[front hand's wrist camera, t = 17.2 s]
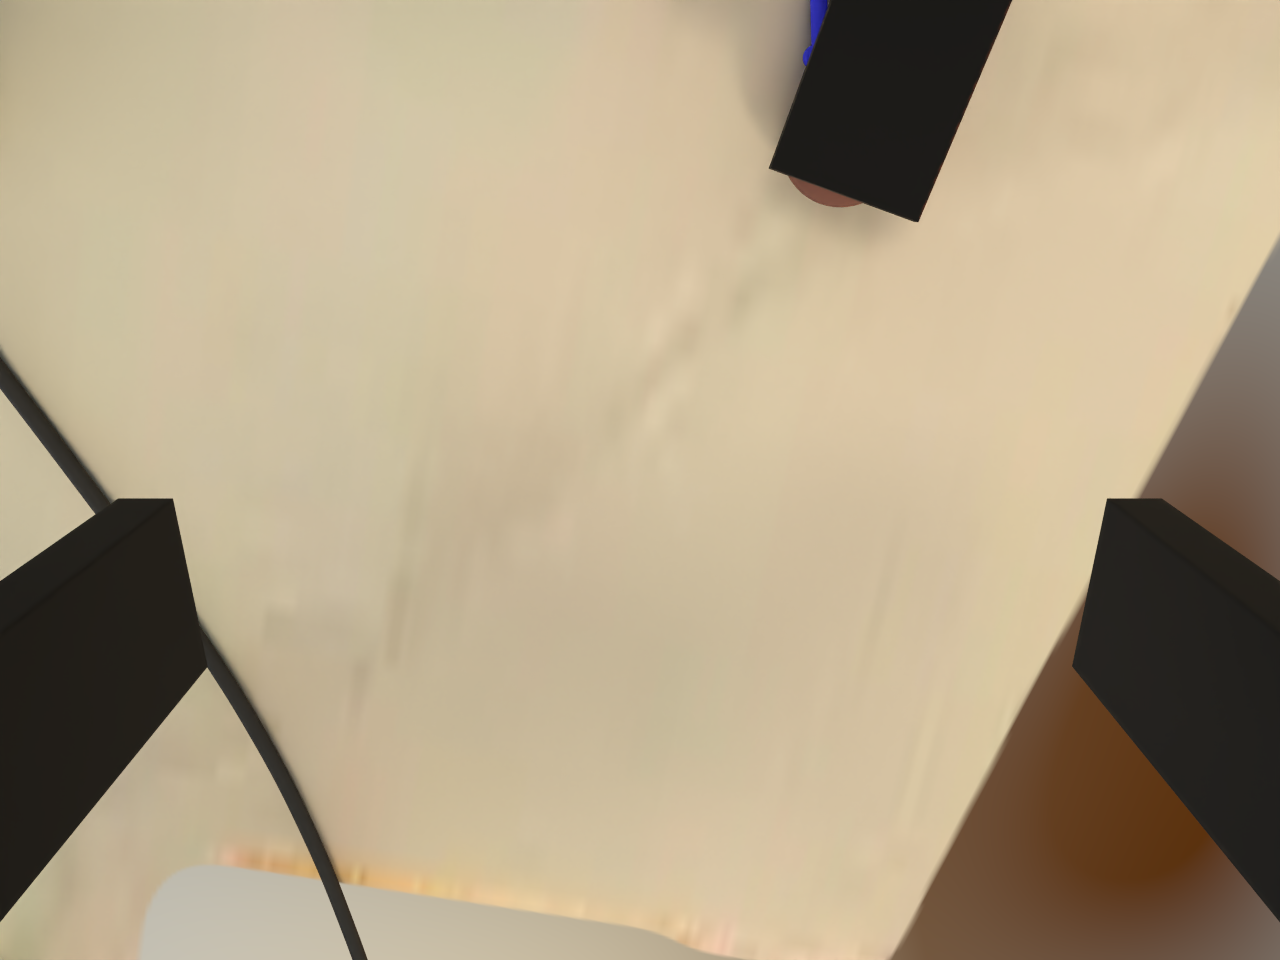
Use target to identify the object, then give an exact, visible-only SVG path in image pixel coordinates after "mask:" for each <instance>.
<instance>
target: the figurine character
mask: <svg viewBox="0 0 1280 960" xmlns="http://www.w3.org/2000/svg"><path fill="white" fill-rule="evenodd" d="M1011 2H1012V0H830V2H829V5H828V8H827V0H810V13H811V46H809V47H808V48H807V49H806V50H805V52H804V54H803V62H804V65H805V66H806V68H805V71H804V73H803V76H802V79H801V82H800V84H799V87H798V90H797V93H796V95H795V98H794V101H793V104H792V106H791V109H790V112H789V114H788V117H787V120H786V123H785V125H784V128H783V131H782V134H781V136H780V139H779V142H778V145H777V147H776V150H775V153H774V155H773V158H772V161H771V164H770V166H769V169H772V170H774V171H777V172H780V173H783V174H785V175H788V176H789V178H790V180H791V181H792V183H793V184H794V185H795V187H796V188H797V189H798V190H799V191H800V192H801V193H802V194H804V195H805V196H806V197H808V198H809V199H811V200H813V201H815V202H817V203H820V204H823V205H826V206H832V207H849V206H854V205H858V204H861V203H864V204H867V205H870V206H873V207H875V208H878V209H881V210H883V211H886V212H889V213H892V214H894V215H897V216H900V217H903V218H905V219H908V220H911V221H913V222H919V219H920V217H921V214H922V212H923V210H924V207H925V205H926V203H927V200H928V198H929V196H930V193H931V191H932V188H933V186H934V184H935V181H936V179H937V177H938V174H939V172H940V170H941V167H942V165H943V162H944V160H945V158H946V155H947V153H948V151H949V148H950V146H951V143H952V141H953V139H954V136H955V134H956V132H957V129H958V127H959V125H960V122H961V120H962V117H963V115H964V113H965V110H966V108H967V106H968V103H969V101H970V99H971V96H972V94H973V91H974V89H975V87H976V84H977V82H978V80H979V77H980V75H981V73H982V70H983V68H984V65H985V63H986V61H987V58H988V56H989V54H990V51H991V49H992V47H993V44H994V42H995V39H996V37H997V35H998V32H999V30H1000V28H1001V25H1002V23H1003V21H1004V18H1005V16H1006V13H1007V11H1008V9H1009V6H1010V4H1011Z"/></svg>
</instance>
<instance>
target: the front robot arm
mask: <svg viewBox="0 0 1280 960" xmlns="http://www.w3.org/2000/svg"><path fill="white" fill-rule="evenodd" d="M0 389H1V390H2V392H3V393H4V394H5V395H6V397H7V398H8V399H9V401H10V402H11V403H12V405H13V406H14V407H15V408H16V410H17V411H18V412H19V414H20V415H21V416H22V418H23V419H24V420H25V422H26V423H27V424H28V425H29V427H30V428H31V429H32V431H33V432H34V433H35V435H36V436H37V437H38V439H39V440H40V441H41V443H42V444H43V445H44V446H45V448H46V449H47V450H48V452H49V453H50V454H51V456H52V457H53V458H54V460H55V461H56V462H57V464H58V465H59V466H60V468H61V469H62V470H63V472H64V473H65V474H66V476H67V477H68V478H69V480H70V481H71V482H72V484H73V485H74V486H75V487H76V489H77V490H78V491H79V493H80V494H81V495H82V497H83V498H84V499H85V501H86V502H87V503H88V505H89V506H90V507H91V509H92V510H93V511H94V513H95V514H96V515H94V516H93V517H91V518H90V519H88V520H87V521H86V522H84V523H83V524H81V525H80V526H78V527H77V528H76V529H74V530H73V531H71V532H70V533H68V534H67V535H66V536H64V537H63V538H61V539H60V540H58V541H57V542H56V543H54V544H53V545H51V546H50V547H48V548H47V549H45V550H44V551H43V552H41V553H40V554H38V555H37V556H35V557H34V558H33V559H31V560H30V561H28V562H27V563H25V564H24V565H23V566H21V567H20V568H18V569H17V570H15V571H14V572H13V573H11V574H10V575H8V576H7V577H5V578H4V579H3V580H1V581H0V922H1V920H2V919H3V918H4V917H5V915H6V914H7V913H8V912H9V910H10V909H11V908H12V907H13V906H14V904H15V903H16V902H17V901H18V899H19V898H20V897H21V896H22V894H23V893H24V892H25V891H26V890H27V888H28V887H29V886H30V885H31V883H32V882H33V881H34V880H35V878H36V877H37V876H38V875H39V874H40V872H41V871H42V870H43V869H44V867H45V866H46V865H47V864H48V862H49V861H50V860H51V859H52V858H53V856H54V855H55V854H56V853H57V851H58V850H59V849H60V848H61V846H62V845H63V844H64V843H65V842H66V840H67V839H68V838H69V837H70V835H71V834H72V833H73V832H74V830H75V829H76V828H77V827H78V826H79V824H80V823H81V822H82V821H83V819H84V818H85V817H86V816H87V814H88V813H89V812H90V811H91V810H92V808H93V807H94V806H95V805H96V803H97V802H98V801H99V800H100V798H101V797H102V796H103V795H104V794H105V792H106V791H107V790H108V789H109V787H110V786H111V785H112V784H113V782H114V781H115V780H116V779H117V777H118V776H119V775H120V774H121V773H122V771H123V770H124V769H125V768H126V766H127V765H128V764H129V763H130V761H131V760H132V759H133V758H134V757H135V755H136V754H137V753H138V752H139V750H140V749H141V748H142V747H143V745H144V744H145V743H146V742H147V741H148V739H149V738H150V737H151V736H152V734H153V733H154V732H155V731H156V729H157V728H158V727H159V726H160V725H161V723H162V722H163V721H164V720H165V718H166V717H167V716H168V715H169V713H170V712H171V711H172V710H173V709H174V707H175V706H176V705H177V704H178V702H179V701H180V700H181V699H182V697H183V696H184V695H185V694H186V693H187V691H188V690H189V689H190V688H191V686H192V685H193V684H194V683H195V681H196V680H197V679H198V678H199V677H200V675H201V674H202V673H203V672H204V670H205V669H206V668H208V669H209V671H210V672H211V674H212V675H213V677H214V678H215V680H216V681H217V683H218V684H219V686H220V688H221V689H222V691H223V692H224V694H225V696H226V697H227V699H228V700H229V702H230V704H231V705H232V707H233V708H234V710H235V712H236V713H237V715H238V717H239V718H240V720H241V722H242V723H243V725H244V727H245V729H246V730H247V732H248V734H249V735H250V737H251V739H252V741H253V742H254V744H255V746H256V748H257V749H258V751H259V753H260V755H261V756H262V758H263V760H264V762H265V764H266V765H267V767H268V769H269V771H270V773H271V775H272V776H273V778H274V780H275V782H276V784H277V786H278V788H279V790H280V792H281V794H282V796H283V798H284V800H285V802H286V804H287V806H288V808H289V810H290V812H291V814H292V816H293V818H294V820H295V822H296V824H297V826H298V828H299V831H300V833H301V835H302V837H303V839H304V841H305V843H306V846H307V848H308V850H309V852H310V854H311V857H312V859H313V861H314V863H315V866H316V868H317V870H318V873H319V875H320V877H321V880H322V882H323V885H324V887H325V889H326V892H327V894H328V897H329V899H330V902H331V904H332V907H333V910H334V912H335V915H336V917H337V920H338V922H339V925H340V928H341V930H342V933H343V935H344V938H345V941H346V943H347V946H348V949H349V951H350V954H351V957H352V960H367V957H366V954H365V951H364V948H363V945H362V943H361V940H360V937H359V935H358V932H357V929H356V927H355V924H354V921H353V919H352V916H351V913H350V911H349V908H348V905H347V903H346V900H345V897H344V895H343V892H342V890H341V887H340V885H339V882H338V879H337V877H336V875H335V872H334V870H333V867H332V865H331V862H330V860H329V858H328V855H327V853H326V851H325V849H324V846H323V844H322V842H321V840H320V837H319V835H318V833H317V831H316V829H315V826H314V824H313V822H312V820H311V818H310V816H309V813H308V811H307V809H306V807H305V805H304V803H303V801H302V799H301V797H300V795H299V793H298V791H297V789H296V787H295V785H294V783H293V781H292V779H291V777H290V775H289V773H288V771H287V769H286V767H285V765H284V763H283V761H282V760H281V758H280V756H279V754H278V752H277V750H276V749H275V747H274V745H273V743H272V741H271V740H270V738H269V736H268V734H267V733H266V731H265V729H264V727H263V726H262V724H261V722H260V720H259V719H258V717H257V715H256V713H255V712H254V710H253V708H252V707H251V705H250V703H249V702H248V700H247V698H246V697H245V695H244V693H243V692H242V690H241V688H240V687H239V685H238V684H237V682H236V680H235V679H234V677H233V676H232V674H231V672H230V671H229V669H228V668H227V666H226V665H225V663H224V662H223V660H222V658H221V657H220V655H219V654H218V652H217V651H216V649H215V648H214V646H213V645H212V643H211V642H210V640H209V639H208V637H207V636H206V635H205V633H204V632H203V630H202V629H201V627H200V626H199V622H198V617H197V612H196V607H195V603H194V598H193V593H192V588H191V583H190V579H189V574H188V569H187V564H186V559H185V555H184V550H183V545H182V540H181V535H180V531H179V526H178V521H177V516H176V511H175V507H174V502H173V499H117V500H116V501H114V502H113V503H111V504H110V503H109V502H108V500H107V499H106V498H105V496H104V495H103V493H102V492H101V491H100V489H99V488H98V487H97V485H96V484H95V483H94V481H93V480H92V479H91V477H90V476H89V475H88V473H87V472H86V471H85V469H84V468H83V467H82V465H81V464H80V463H79V461H78V460H77V459H76V457H75V456H74V455H73V453H72V452H71V451H70V449H69V448H68V447H67V445H66V444H65V443H64V441H63V440H62V439H61V437H60V436H59V435H58V433H57V432H56V431H55V429H54V428H53V427H52V425H51V424H50V423H49V421H48V420H47V419H46V417H45V416H44V415H43V413H42V412H41V411H40V409H39V408H38V407H37V405H36V404H35V403H34V401H33V400H32V399H31V397H30V396H29V395H28V393H27V392H26V391H25V390H24V388H23V387H22V386H21V384H20V383H19V382H18V380H17V379H16V378H15V376H14V375H13V374H12V372H11V371H10V370H9V368H8V367H7V366H6V365H5V363H4V362H3V361H2V359H1V358H0ZM1072 667H1073V668H1074V669H1075V670H1076V672H1077V673H1078V674H1079V675H1080V677H1081V678H1082V679H1083V680H1084V681H1085V683H1086V684H1087V685H1088V686H1089V687H1090V689H1091V690H1092V691H1093V693H1094V694H1095V695H1096V696H1097V697H1098V699H1099V700H1100V701H1101V702H1102V704H1103V705H1104V706H1105V707H1106V709H1107V710H1108V711H1109V712H1110V713H1111V715H1112V716H1113V717H1114V718H1115V720H1116V721H1117V722H1118V723H1119V725H1120V726H1121V727H1122V728H1123V729H1124V731H1125V732H1126V733H1127V734H1128V736H1129V737H1130V738H1131V739H1132V740H1133V742H1134V743H1135V744H1136V745H1137V747H1138V748H1139V749H1140V750H1141V752H1142V753H1143V754H1144V755H1145V757H1146V758H1147V759H1148V760H1149V761H1150V763H1151V764H1152V765H1153V766H1154V768H1155V769H1156V770H1157V771H1158V773H1159V774H1160V775H1161V776H1162V777H1163V779H1164V780H1165V781H1166V782H1167V784H1168V785H1169V786H1170V787H1171V789H1172V790H1173V791H1174V792H1175V794H1176V795H1177V796H1178V797H1179V798H1180V800H1181V801H1182V802H1183V803H1184V805H1185V806H1186V807H1187V808H1188V810H1189V811H1190V812H1191V813H1192V814H1193V816H1194V817H1195V818H1196V819H1197V821H1198V822H1199V823H1200V824H1201V826H1202V827H1203V828H1204V829H1205V830H1206V832H1207V833H1208V834H1209V835H1210V837H1211V838H1212V839H1213V840H1214V842H1215V843H1216V844H1217V845H1218V846H1219V848H1220V849H1221V850H1222V851H1223V853H1224V854H1225V855H1226V856H1227V857H1228V859H1229V860H1230V861H1231V862H1232V864H1233V865H1234V866H1235V867H1236V869H1237V870H1238V871H1239V872H1240V874H1241V875H1242V876H1243V877H1244V878H1245V880H1246V881H1247V882H1248V883H1249V885H1250V886H1251V887H1252V888H1253V890H1254V891H1255V892H1256V893H1257V894H1258V896H1259V897H1260V898H1261V899H1262V901H1263V902H1264V903H1265V904H1266V906H1267V907H1268V908H1269V909H1270V910H1271V912H1272V913H1273V914H1274V915H1275V917H1276V918H1277V919H1278V920H1279V922H1280V581H1279V580H1277V579H1276V578H1275V577H1273V576H1272V575H1270V574H1269V573H1267V572H1266V571H1265V570H1263V569H1262V568H1260V567H1259V566H1257V565H1256V564H1255V563H1253V562H1252V561H1250V560H1249V559H1247V558H1246V557H1245V556H1243V555H1242V554H1240V553H1239V552H1237V551H1236V550H1234V549H1233V548H1232V547H1230V546H1229V545H1227V544H1226V543H1224V542H1223V541H1222V540H1220V539H1219V538H1217V537H1216V536H1214V535H1213V534H1212V533H1210V532H1209V531H1207V530H1206V529H1204V528H1203V527H1202V526H1200V525H1199V524H1197V523H1196V522H1194V521H1193V520H1192V519H1190V518H1189V517H1187V516H1186V515H1184V514H1183V513H1182V512H1180V511H1179V510H1177V509H1176V508H1174V507H1173V506H1172V505H1170V504H1169V503H1167V502H1166V501H1164V500H1163V499H1107V502H1106V507H1105V511H1104V516H1103V521H1102V526H1101V531H1100V535H1099V540H1098V545H1097V550H1096V555H1095V559H1094V564H1093V569H1092V574H1091V579H1090V583H1089V588H1088V593H1087V598H1086V603H1085V607H1084V612H1083V617H1082V622H1081V627H1080V631H1079V636H1078V641H1077V646H1076V650H1075V655H1074V660H1073V665H1072Z"/></svg>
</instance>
